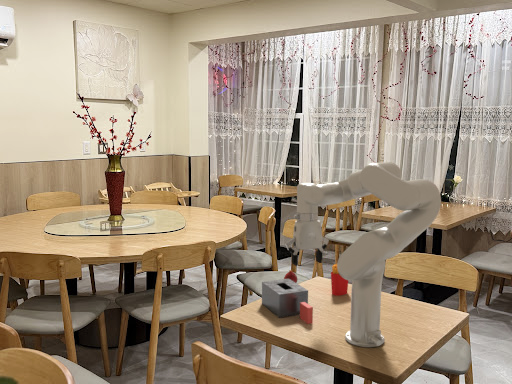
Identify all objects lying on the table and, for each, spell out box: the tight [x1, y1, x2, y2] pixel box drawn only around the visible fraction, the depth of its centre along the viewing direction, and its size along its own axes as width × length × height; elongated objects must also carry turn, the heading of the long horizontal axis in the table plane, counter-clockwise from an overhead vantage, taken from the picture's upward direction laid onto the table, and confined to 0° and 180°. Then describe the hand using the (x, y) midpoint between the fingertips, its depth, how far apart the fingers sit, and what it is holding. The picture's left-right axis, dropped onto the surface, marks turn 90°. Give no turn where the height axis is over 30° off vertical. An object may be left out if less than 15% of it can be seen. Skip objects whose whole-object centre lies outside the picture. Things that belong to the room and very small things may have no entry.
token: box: [299, 302, 314, 325], centre depth 180 cm, size 6×2×6 cm, turn 23°
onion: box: [283, 269, 298, 284], centre depth 218 cm, size 6×6×8 cm
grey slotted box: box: [261, 278, 309, 319], centre depth 192 cm, size 16×12×9 cm
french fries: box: [330, 263, 349, 297], centre depth 210 cm, size 9×4×13 cm, turn 122°
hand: (307, 263), depth 180 cm, fingers open, 9 cm apart
